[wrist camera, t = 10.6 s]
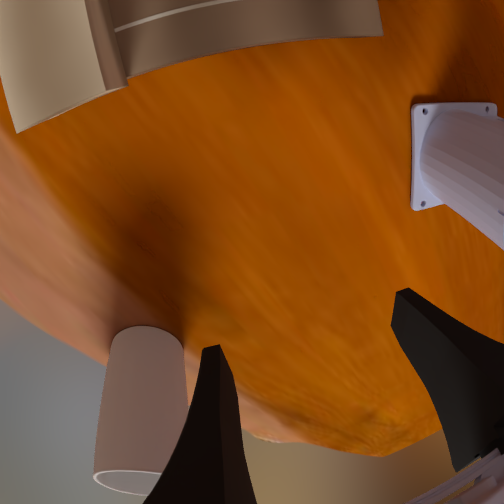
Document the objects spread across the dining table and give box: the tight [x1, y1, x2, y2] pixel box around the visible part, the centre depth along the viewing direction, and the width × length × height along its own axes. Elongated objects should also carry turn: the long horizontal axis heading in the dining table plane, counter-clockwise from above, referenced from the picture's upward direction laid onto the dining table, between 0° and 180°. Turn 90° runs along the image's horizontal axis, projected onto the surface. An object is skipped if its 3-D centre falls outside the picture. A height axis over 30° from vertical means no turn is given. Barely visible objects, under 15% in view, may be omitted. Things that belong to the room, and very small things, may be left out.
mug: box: [93, 326, 189, 496], centre depth 20 cm, size 10×7×12 cm, turn 132°
